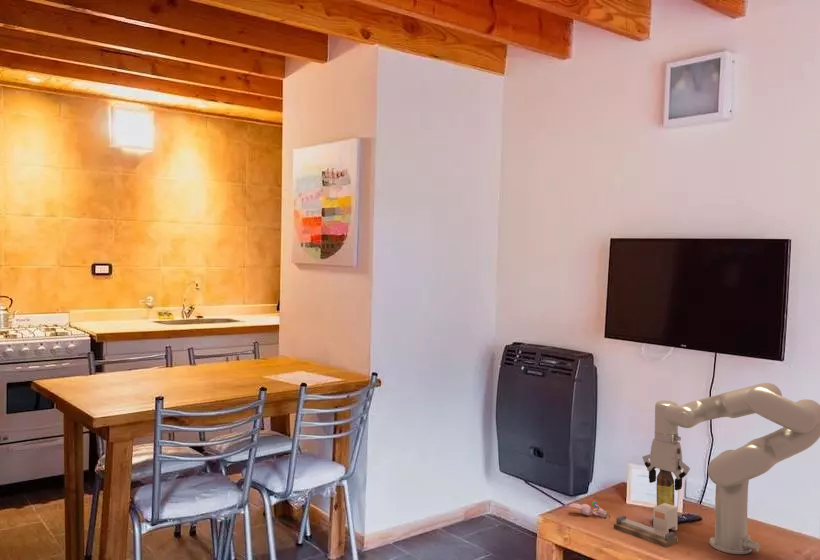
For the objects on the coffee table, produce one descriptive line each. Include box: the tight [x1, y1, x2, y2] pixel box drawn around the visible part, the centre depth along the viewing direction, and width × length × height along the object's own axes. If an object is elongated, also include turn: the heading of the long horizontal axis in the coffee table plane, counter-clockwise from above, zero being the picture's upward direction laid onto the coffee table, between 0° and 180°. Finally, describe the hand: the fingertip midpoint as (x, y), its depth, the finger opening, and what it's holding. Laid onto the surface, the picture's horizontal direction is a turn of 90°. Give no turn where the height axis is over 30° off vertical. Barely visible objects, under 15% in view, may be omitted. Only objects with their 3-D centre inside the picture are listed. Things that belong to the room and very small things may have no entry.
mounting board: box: [613, 522, 678, 548], centre depth 232 cm, size 20×7×2 cm, turn 38°
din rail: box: [615, 515, 676, 541], centre depth 232 cm, size 20×4×2 cm, turn 38°
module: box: [652, 503, 679, 533], centre depth 236 cm, size 5×7×8 cm
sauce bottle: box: [656, 469, 675, 506], centre depth 252 cm, size 6×6×20 cm
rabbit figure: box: [568, 500, 611, 519], centre depth 249 cm, size 6×6×15 cm
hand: (665, 485), depth 236 cm, fingers open, 9 cm apart
